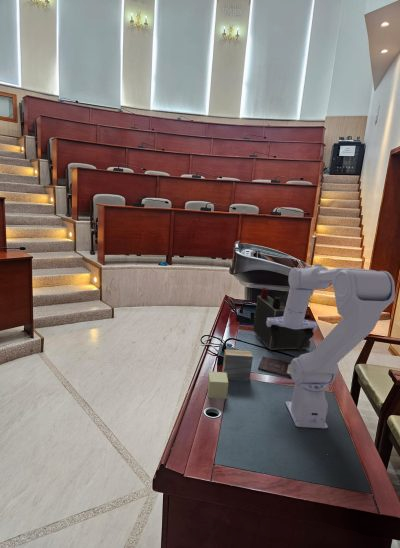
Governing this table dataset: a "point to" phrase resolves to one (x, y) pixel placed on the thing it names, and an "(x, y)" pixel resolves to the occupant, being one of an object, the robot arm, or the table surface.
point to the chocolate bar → (275, 366)
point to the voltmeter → (270, 310)
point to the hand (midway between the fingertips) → (285, 347)
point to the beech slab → (237, 364)
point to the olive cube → (217, 385)
